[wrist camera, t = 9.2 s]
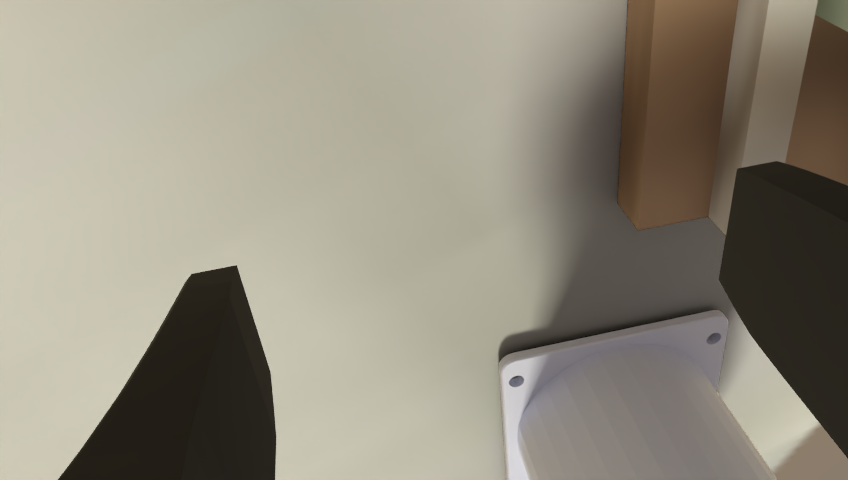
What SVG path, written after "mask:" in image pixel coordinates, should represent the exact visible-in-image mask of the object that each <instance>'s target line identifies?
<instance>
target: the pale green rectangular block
mask: <svg viewBox="0 0 848 480" xmlns="http://www.w3.org/2000/svg"><path fill="white" fill-rule="evenodd" d="M815 15H817V16H819V17H820V18H822V19H824V20H826V21H828V22H830V23H832V24H834V25H836V26H837V27H839V28H841V29H843V30H845V31H847V32H848V0H818V2H817V7H816V12H815Z"/></svg>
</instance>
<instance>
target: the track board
mask: <svg viewBox="0 0 848 480" xmlns="http://www.w3.org/2000/svg"><path fill="white" fill-rule="evenodd" d="M817 2H818V0H628V12H627V30H626V49H625V68H624V87H623V106H622V125H621V143H620V162H619V181H618V200H617V203H618V205H619V206H620V207H621V208H622V210H623V211H624V212H625V214H626V215H627V216H628V218H629V219H630V220H631V222H632V223H633V224H634V226H635V227H636V228H637V230H638V231H639V230H644V229H649V228H654V227H659V226H664V225H669V224H673V223H678V222H683V221H688V220H693V219H698V218H703V217H709V218H710V219H711V220H712V221H713V222H714V223H715V224H716V225H717V227H718V228H719V229H720V230H721V231H722V232H723V233H724V234H725V235H726V233H727V227H728V221H729V215H730V208H731V202H732V196H733V190H734V184H735V178H736V172H737V169H738V168H743V167H748V166H753V165H758V164H764V163H769V162H774V161H779V162H782V163H786V164H789V165H792V166H796V167H799V168H802V169H805V170H807V171H810V172H813V173H816V174H818V175H821V176H824V177H826V178H829V179H832V180H835V181H837V182H840V183H842V184H845V185H847V186H848V32H847V31H845V30H843V29H841V28H839V27H837V26H836V25H834V24H832V23H830V22H828V21H826V20H824V19H822V18H820V17H819V16H817V15H815V12H816V7H817Z"/></svg>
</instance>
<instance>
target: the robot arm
mask: <svg viewBox="0 0 848 480" xmlns="http://www.w3.org/2000/svg"><path fill="white" fill-rule="evenodd" d="M719 281H720V282H721V284H722V286H723V288H724V290H725V291H726V293H727V295H728V297H729V299H730V301H731V302H732V304H733V306H734V308H735V310H736V311H737V313H738V315H739V316H740V318H741V320H742V321H743V323H744V325H745V326H746V328H747V330H748V331H749V333H750V334H751V336H752V337H753V339H754V340H755V341H756V343H757V344H758V345H759V347H760V348H761V349H762V350H763V352H764V353H765V354H766V356H767V357H768V358H769V359H770V361H771V362H772V363H773V365H774V366H775V367H776V368H777V370H778V371H779V372H780V374H781V375H782V376H783V377H784V379H785V380H786V381H787V382H788V384H789V385H790V386H791V387H792V389H793V390H794V391H795V393H796V394H797V395H798V396H799V398H800V399H801V400H802V401H803V403H804V404H805V405H806V406H807V408H808V409H809V410H810V411H811V413H812V414H813V415H814V416H815V418H816V419H817V420H818V421H819V423H820V424H821V425H822V426H823V428H824V429H825V430H826V431H827V433H828V434H829V435H830V437H831V438H832V439H833V440H834V442H835V443H836V444H837V445H838V447H839V448H840V449H841V450H842V452H843V453H844V454H845V455H846V457H847V458H848V186H847V185H845V184H842V183H840V182H837V181H835V180H832V179H829V178H826V177H824V176H821V175H818V174H816V173H813V172H810V171H807V170H805V169H802V168H799V167H796V166H792V165H789V164H786V163H782V162H779V161H774V162H769V163H764V164H758V165H753V166H748V167H743V168H738V169H737V172H736V178H735V184H734V190H733V196H732V202H731V208H730V215H729V221H728V227H727V233H726V239H725V245H724V251H723V258H722V264H721V270H720V276H719ZM728 325H729V321H728V319H727V318H726V316H725V315H724V314H723V313H722V311H719V310H711V311H707V312H702V313H697V314H693V315H688V316H683V317H679V318H674V319H669V320H665V321H660V322H655V323H650V324H646V325H641V326H636V327H632V328H627V329H622V330H618V331H613V332H608V333H604V334H599V335H594V336H590V337H585V338H580V339H575V340H571V341H566V342H561V343H557V344H552V345H547V346H543V347H538V348H533V349H529V350H524V351H519V352H515V353H511V354H508V355H506V356H505V357H504V358H502V360H501V361H500V362H499V379H500V394H501V409H502V423H503V438H504V453H505V467H506V480H777V478H776V477H775V475H774V474H773V472H772V471H771V469H770V468H769V467H768V465H767V464H766V462H765V461H764V459H763V458H762V456H761V455H760V454H759V452H758V451H757V449H756V448H755V446H754V445H753V443H752V442H751V440H750V439H749V438H748V436H747V435H746V433H745V432H744V430H743V429H742V427H741V426H740V425H739V423H738V422H737V420H736V419H735V417H734V416H733V414H732V413H731V411H730V410H729V409H728V407H727V406H726V404H725V403H724V401H723V400H722V398H721V397H720V395H719V394H718V393H717V388H718V382H719V376H720V371H721V365H722V359H723V354H724V348H725V342H726V337H727V331H728ZM711 334H712V335H711ZM515 376H518V377H516V378H514V379H511V378H512V377H515ZM275 459H276V430H275V418H274V406H273V395H272V384H271V374H270V370H269V366H268V363H267V360H266V357H265V354H264V351H263V348H262V344H261V341H260V338H259V335H258V332H257V329H256V325H255V322H254V319H253V316H252V313H251V310H250V306H249V303H248V300H247V297H246V294H245V291H244V287H243V284H242V281H241V278H240V275H239V272H238V268H237V265H236V266H231V267H226V268H221V269H216V270H210V271H205V272H200V273H195V274H191V276H190V277H189V278H188V280H187V281H186V282H185V284H184V286H183V288H182V289H181V291H180V293H179V295H178V297H177V298H176V300H175V302H174V304H173V306H172V307H171V309H170V311H169V313H168V315H167V316H166V318H165V320H164V322H163V323H162V325H161V327H160V329H159V330H158V332H157V334H156V335H155V337H154V339H153V341H152V342H151V344H150V346H149V347H148V349H147V351H146V352H145V354H144V356H143V357H142V359H141V360H140V362H139V364H138V365H137V367H136V368H135V370H134V372H133V373H132V375H131V376H130V378H129V380H128V381H127V383H126V385H125V386H124V388H123V389H122V391H121V392H120V394H119V395H118V397H117V398H116V400H115V401H114V403H113V404H112V406H111V407H110V409H109V410H108V411H107V413H106V414H105V416H104V417H103V419H102V420H101V422H100V423H99V424H98V426H97V427H96V429H95V430H94V432H93V433H92V434H91V436H90V437H89V439H88V440H87V442H86V443H85V444H84V446H83V447H82V449H81V450H80V451H79V453H78V454H77V455H76V457H75V458H74V459H73V461H72V462H71V463H70V465H69V466H68V467H67V469H66V470H65V471H64V473H63V474H62V475H61V476H60V478H59V479H58V480H275Z"/></svg>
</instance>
